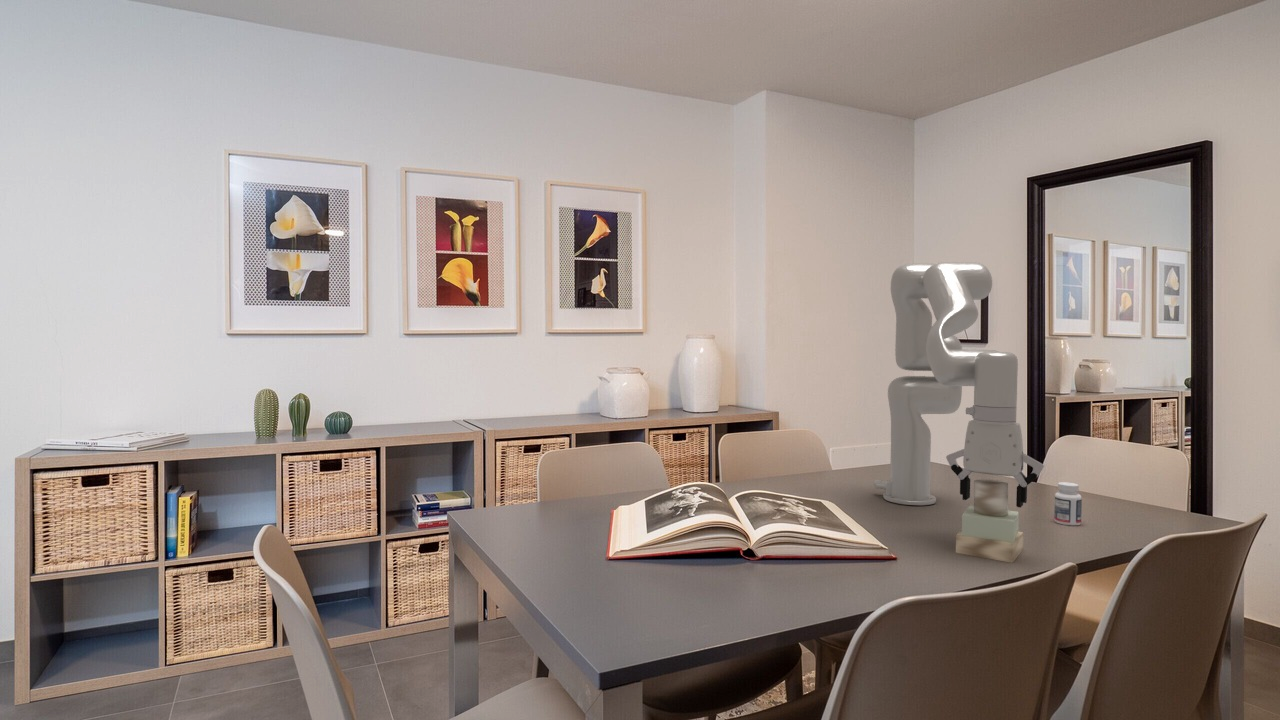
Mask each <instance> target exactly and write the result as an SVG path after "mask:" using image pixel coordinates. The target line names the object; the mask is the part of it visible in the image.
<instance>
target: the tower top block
mask: <svg viewBox="0 0 1280 720" xmlns="http://www.w3.org/2000/svg"><path fill="white" fill-rule="evenodd" d="M1019 512H1020V511H1016V510H1010V509H1008V515H1006V516H986V515H981V514H977V513H975V512H974V505H969V506H968V507H966V509H965V511H964V512H963V513H962V514H961V530H962V535H963V536H970V537H976V538H983V539H990V540H997V541H1004V542H1011V543H1014V541H1015V538H1016V536H1017V534H1018V532H1019V526H1020V525H1019V524H1020V522H1019V520H1020V519H1019V517H1020V513H1019Z"/></svg>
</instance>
